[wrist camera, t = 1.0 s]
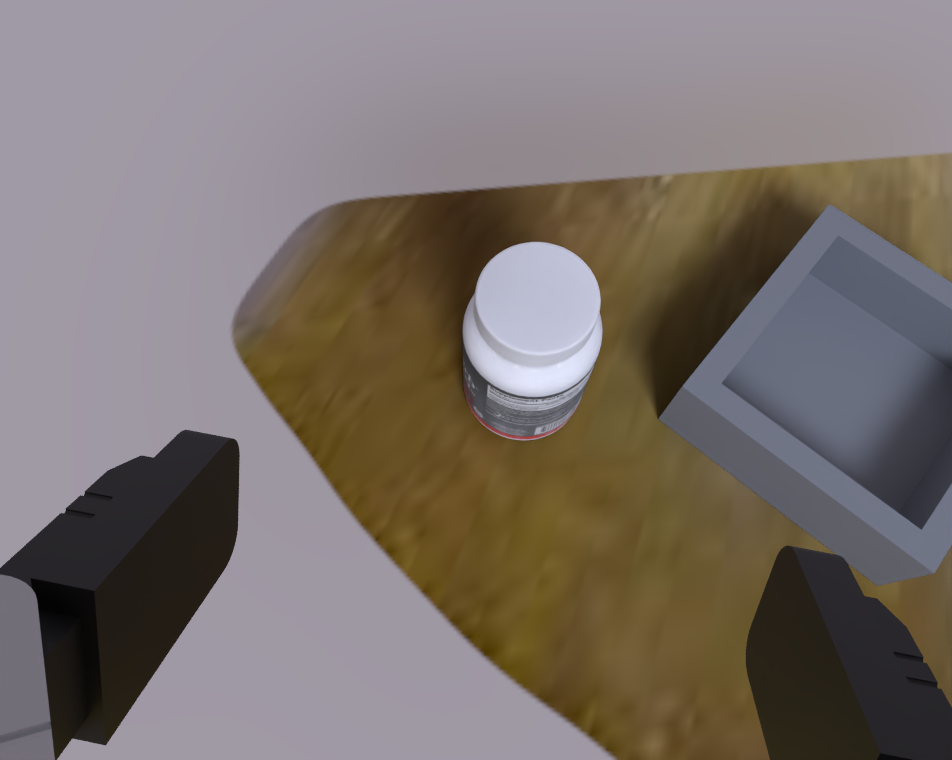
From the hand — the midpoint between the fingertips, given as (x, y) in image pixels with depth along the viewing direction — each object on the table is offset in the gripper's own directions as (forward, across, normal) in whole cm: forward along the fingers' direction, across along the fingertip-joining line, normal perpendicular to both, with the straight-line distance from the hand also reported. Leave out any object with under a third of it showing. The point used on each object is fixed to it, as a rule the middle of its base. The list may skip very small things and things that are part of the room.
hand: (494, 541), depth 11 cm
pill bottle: (+25, 0, +9) cm, 27 cm away
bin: (+26, -15, +7) cm, 31 cm away
